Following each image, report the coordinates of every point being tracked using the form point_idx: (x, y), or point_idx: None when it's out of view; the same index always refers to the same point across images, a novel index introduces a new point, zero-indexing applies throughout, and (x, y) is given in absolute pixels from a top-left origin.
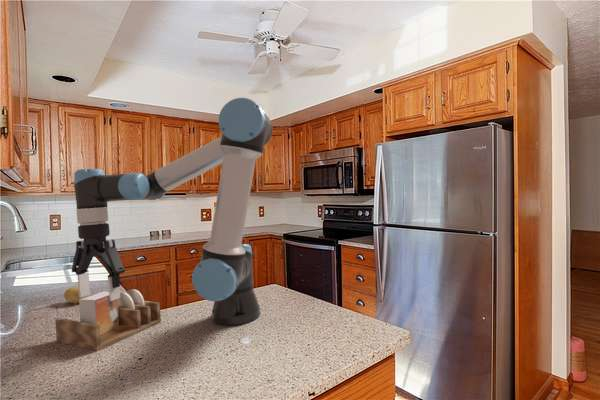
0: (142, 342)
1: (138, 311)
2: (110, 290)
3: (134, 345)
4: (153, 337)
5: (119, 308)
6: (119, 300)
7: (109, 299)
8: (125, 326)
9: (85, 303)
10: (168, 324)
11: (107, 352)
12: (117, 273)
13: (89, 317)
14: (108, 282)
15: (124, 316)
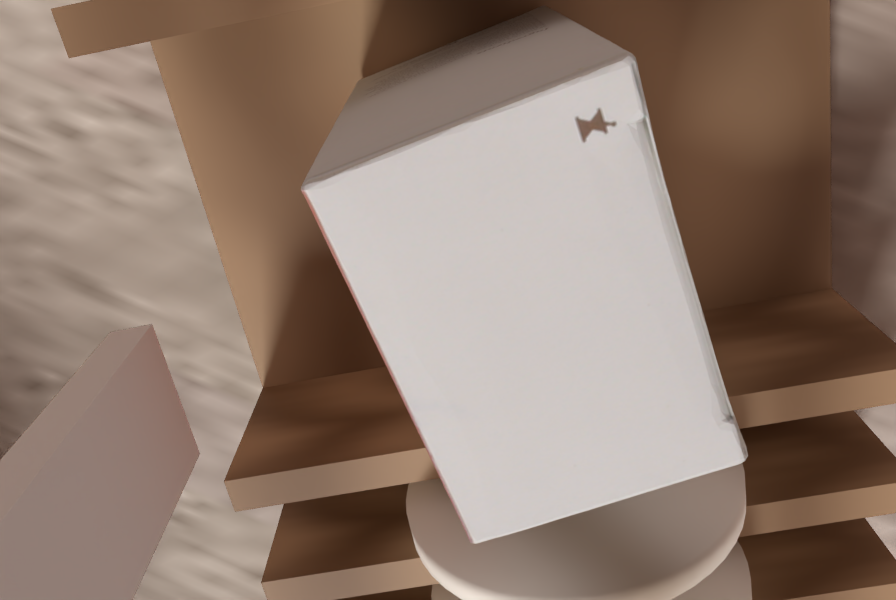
0: (28, 294)
1: (232, 490)
2: (43, 415)
3: (17, 232)
4: (60, 385)
5: None
6: (628, 515)
7: (146, 331)
8: None
9: (480, 93)
10: (233, 563)
11: (52, 39)
12: None
13: (419, 83)
14: (6, 502)
15: None
